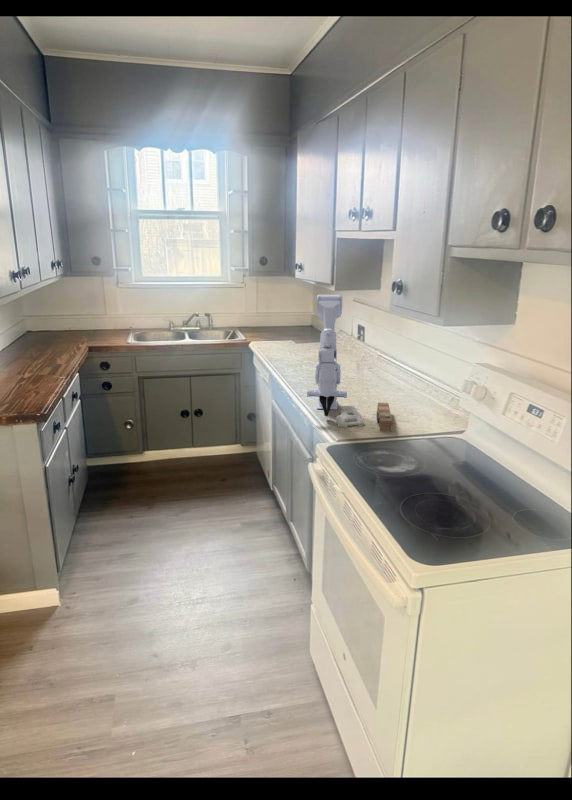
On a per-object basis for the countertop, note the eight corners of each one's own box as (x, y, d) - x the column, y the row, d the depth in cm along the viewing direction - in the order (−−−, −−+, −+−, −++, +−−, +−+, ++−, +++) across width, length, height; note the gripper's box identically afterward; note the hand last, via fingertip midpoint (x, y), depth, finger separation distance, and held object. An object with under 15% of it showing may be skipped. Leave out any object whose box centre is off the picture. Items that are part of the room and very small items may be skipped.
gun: (331, 403, 202) (357, 403, 203) (331, 412, 204) (356, 411, 204) (339, 422, 185) (367, 422, 186) (339, 431, 187) (367, 430, 187)
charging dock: (375, 412, 203) (376, 401, 201) (387, 412, 202) (388, 401, 201) (378, 431, 184) (378, 419, 182) (391, 431, 183) (392, 419, 182)
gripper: (306, 382, 188) (306, 418, 192) (347, 383, 186) (346, 419, 190) (308, 377, 194) (307, 411, 199) (347, 378, 193) (346, 413, 197)
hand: (326, 415), depth 195 cm, fingers closed
